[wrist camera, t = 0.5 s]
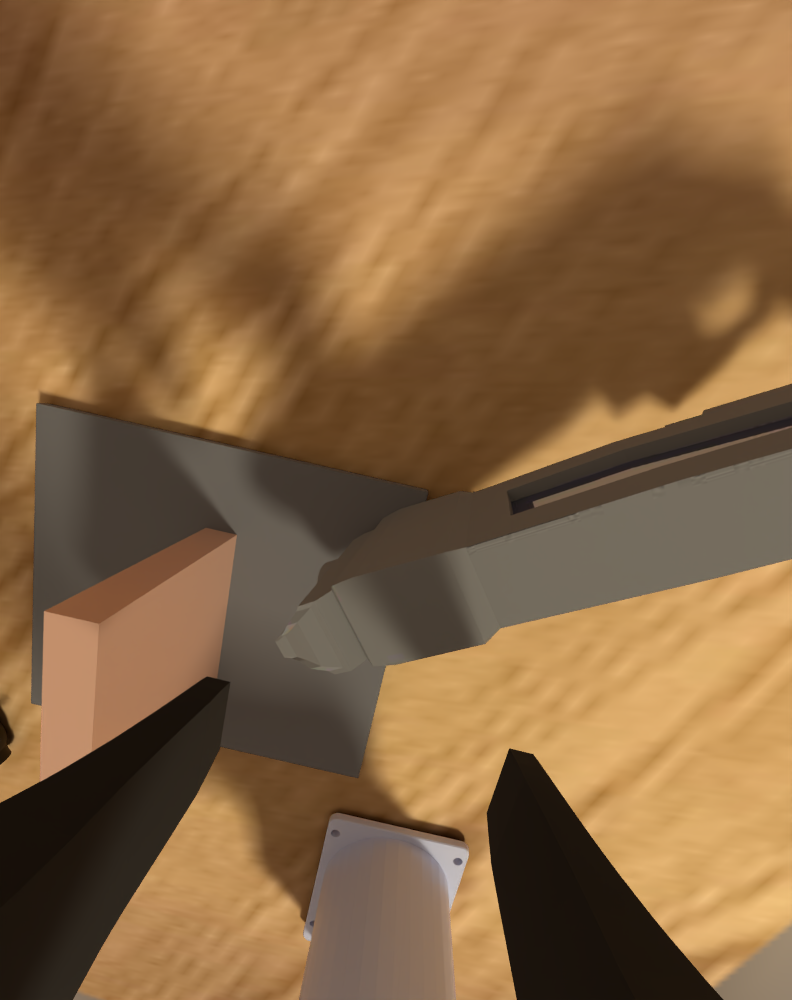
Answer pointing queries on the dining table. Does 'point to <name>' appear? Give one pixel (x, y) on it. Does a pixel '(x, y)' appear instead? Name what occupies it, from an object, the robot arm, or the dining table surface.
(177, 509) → the mat
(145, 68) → the dining table surface
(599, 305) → the dining table surface
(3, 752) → the door handle
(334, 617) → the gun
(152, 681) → the tile
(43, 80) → the dining table surface
